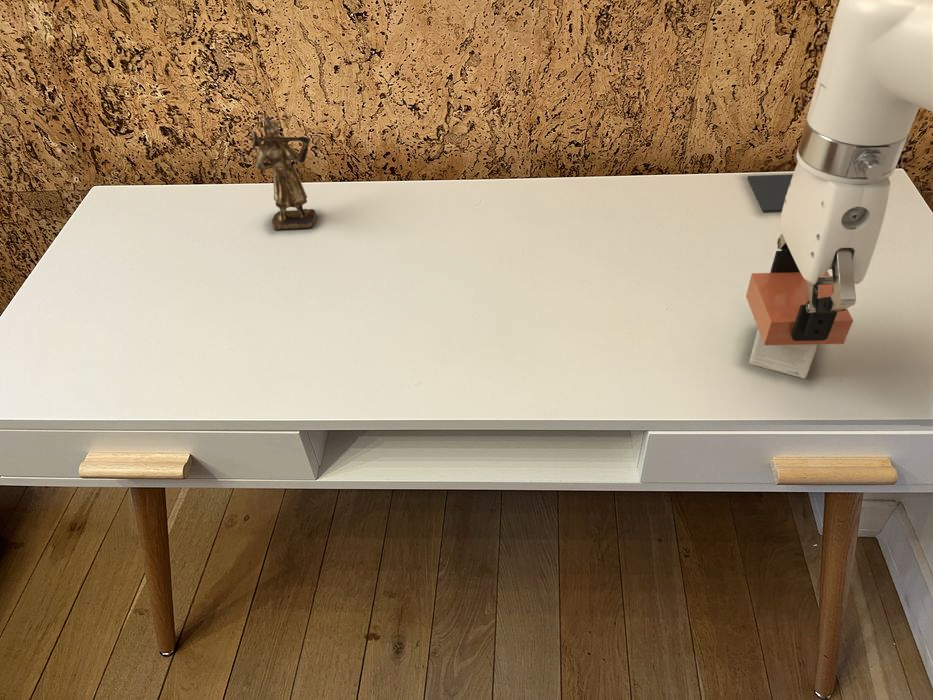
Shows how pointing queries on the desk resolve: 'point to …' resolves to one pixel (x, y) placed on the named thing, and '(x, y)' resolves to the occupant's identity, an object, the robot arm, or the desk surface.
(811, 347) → the small box
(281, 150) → the figurine
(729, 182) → the desk surface
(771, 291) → the orange flat block
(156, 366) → the desk surface
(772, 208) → the mat
